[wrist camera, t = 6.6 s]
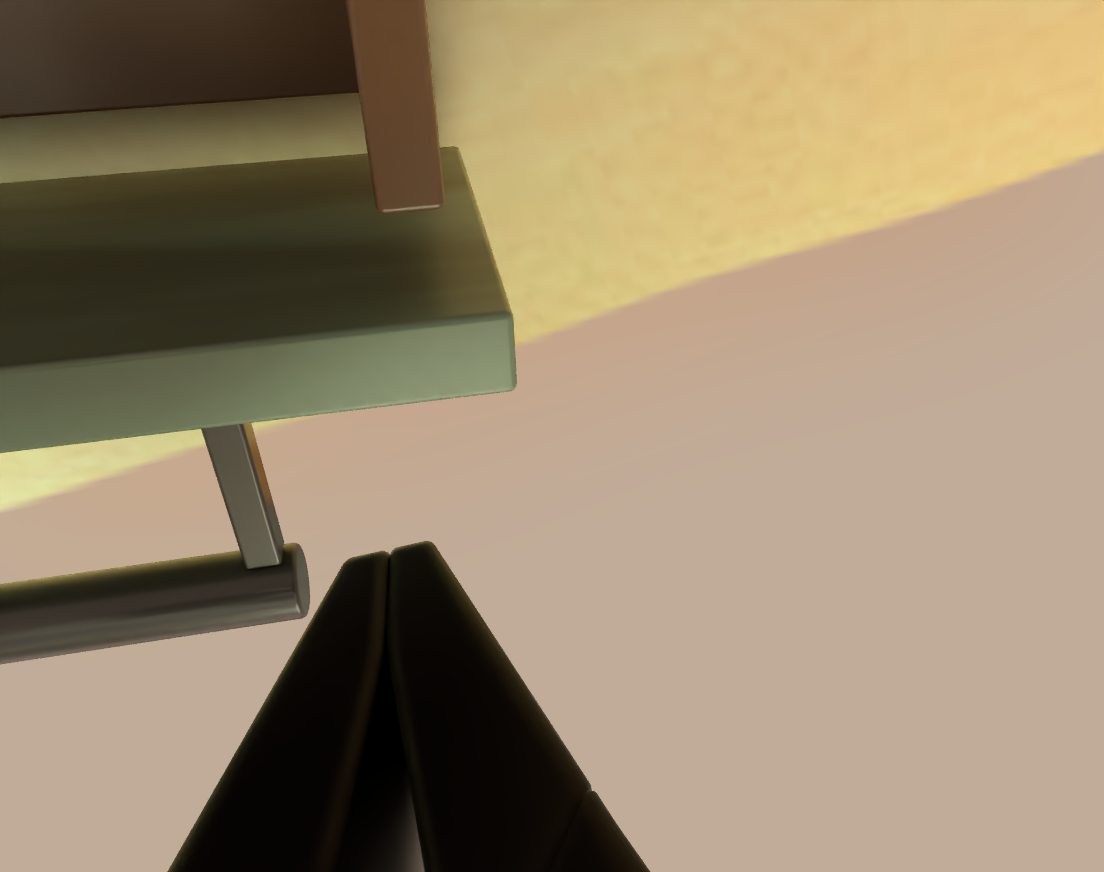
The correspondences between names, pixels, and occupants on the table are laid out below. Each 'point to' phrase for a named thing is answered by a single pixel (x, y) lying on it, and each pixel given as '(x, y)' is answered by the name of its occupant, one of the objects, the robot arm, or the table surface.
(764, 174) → the table surface
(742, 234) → the table surface
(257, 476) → the drawer
